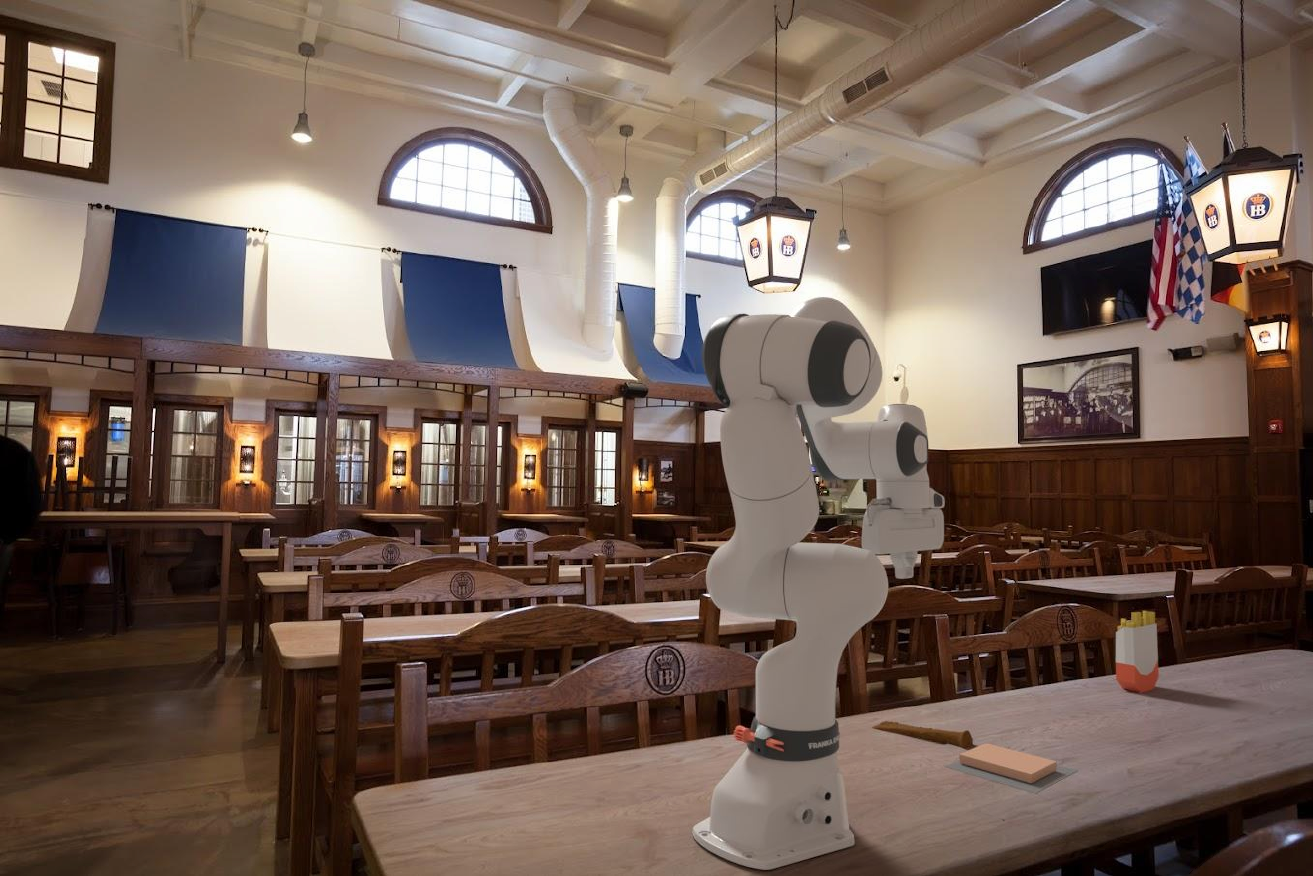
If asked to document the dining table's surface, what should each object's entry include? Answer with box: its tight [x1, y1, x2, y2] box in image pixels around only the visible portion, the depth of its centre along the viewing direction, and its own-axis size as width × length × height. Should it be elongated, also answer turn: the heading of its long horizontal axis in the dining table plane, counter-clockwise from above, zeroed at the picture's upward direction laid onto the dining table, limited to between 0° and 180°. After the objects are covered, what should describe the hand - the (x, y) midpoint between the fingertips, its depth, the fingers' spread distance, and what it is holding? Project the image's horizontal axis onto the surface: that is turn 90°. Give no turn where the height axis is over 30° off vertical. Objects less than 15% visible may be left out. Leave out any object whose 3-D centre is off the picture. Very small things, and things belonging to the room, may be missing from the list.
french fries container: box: [1115, 610, 1160, 693], centre depth 184 cm, size 5×11×18 cm, turn 123°
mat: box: [944, 759, 1078, 794], centre depth 130 cm, size 15×15×1 cm
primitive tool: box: [871, 720, 974, 749], centre depth 149 cm, size 19×6×4 cm, turn 44°
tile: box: [958, 742, 1058, 784], centre depth 131 cm, size 9×2×12 cm
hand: (904, 578), depth 137 cm, fingers closed
